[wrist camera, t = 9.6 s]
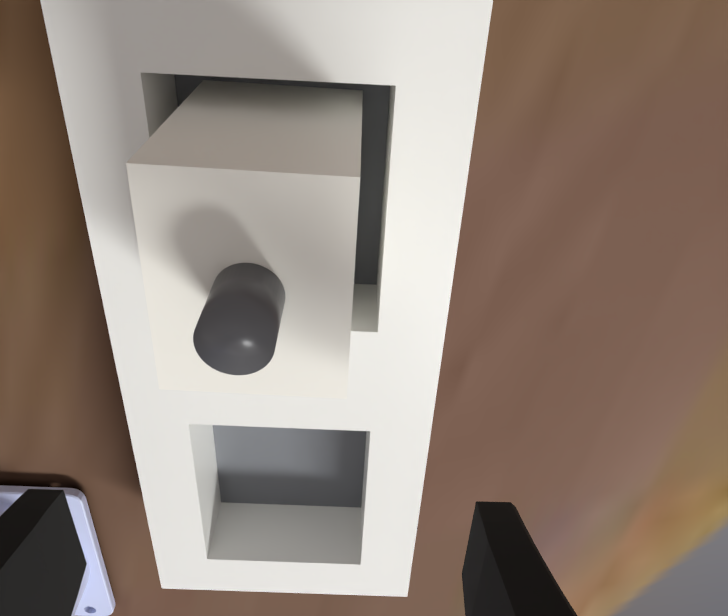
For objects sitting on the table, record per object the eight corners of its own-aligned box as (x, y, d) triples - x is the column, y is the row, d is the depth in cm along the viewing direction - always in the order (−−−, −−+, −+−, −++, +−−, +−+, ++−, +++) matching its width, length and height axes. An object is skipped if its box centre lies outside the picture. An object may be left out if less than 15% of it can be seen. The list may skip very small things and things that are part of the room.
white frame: (182, 520, 26) (161, 588, 23) (91, -41, 15) (34, -29, 12) (403, 528, 26) (407, 596, 23) (472, -19, 15) (493, -4, 12)
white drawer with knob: (216, 256, 18) (136, 443, 12) (203, 79, 16) (91, 200, 9) (352, 264, 19) (344, 453, 12) (362, 90, 16) (359, 216, 10)
